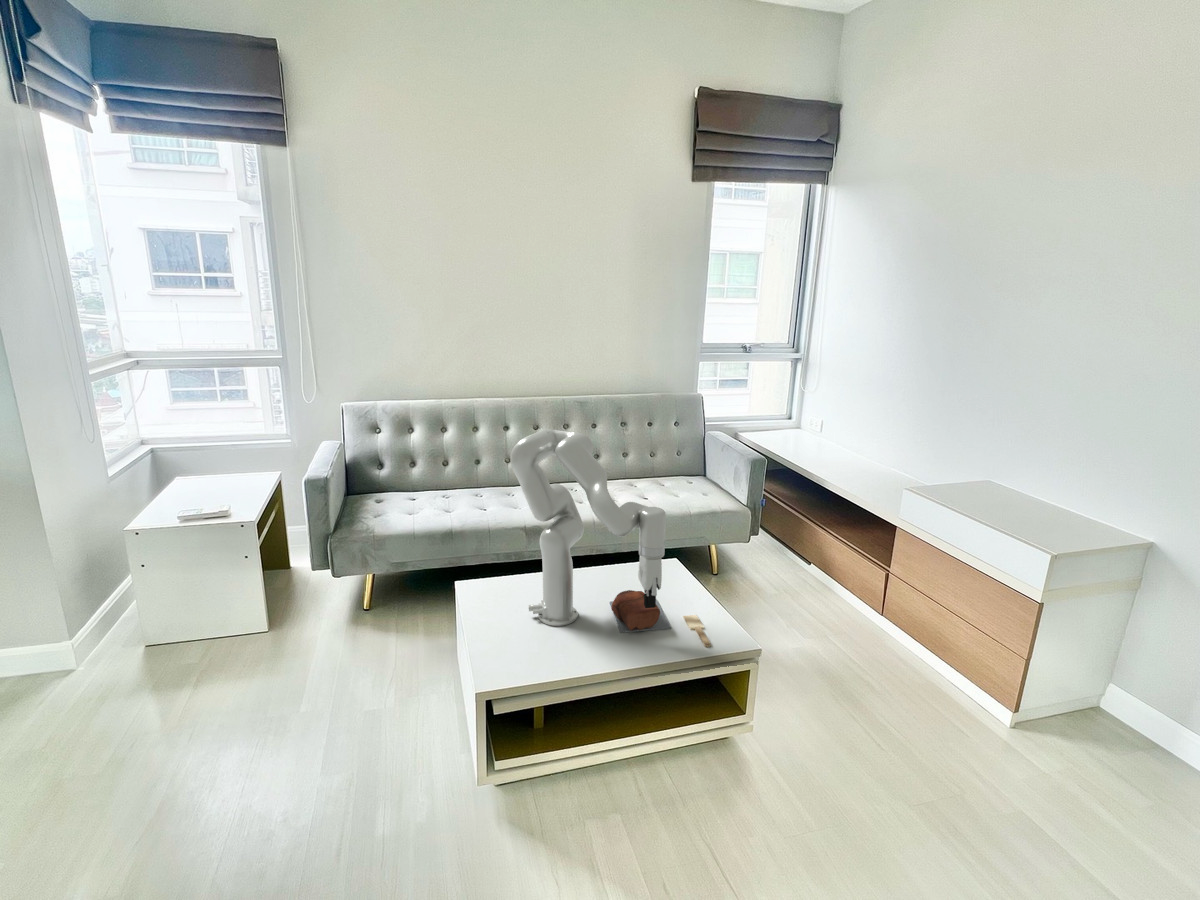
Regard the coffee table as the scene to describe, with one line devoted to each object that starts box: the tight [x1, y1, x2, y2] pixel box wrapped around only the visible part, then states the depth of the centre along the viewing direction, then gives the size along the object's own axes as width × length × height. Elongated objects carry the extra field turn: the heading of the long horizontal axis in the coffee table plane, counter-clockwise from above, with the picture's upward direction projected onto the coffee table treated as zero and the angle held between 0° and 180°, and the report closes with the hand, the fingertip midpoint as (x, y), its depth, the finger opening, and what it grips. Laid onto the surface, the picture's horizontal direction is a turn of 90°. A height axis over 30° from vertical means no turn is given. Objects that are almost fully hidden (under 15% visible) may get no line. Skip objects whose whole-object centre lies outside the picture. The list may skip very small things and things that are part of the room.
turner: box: [682, 614, 712, 648], centre depth 191 cm, size 18×4×1 cm, turn 9°
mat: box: [609, 598, 672, 633], centre depth 200 cm, size 16×19×1 cm
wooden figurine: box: [610, 589, 660, 631], centre depth 197 cm, size 12×6×18 cm
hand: (649, 606), depth 185 cm, fingers closed
